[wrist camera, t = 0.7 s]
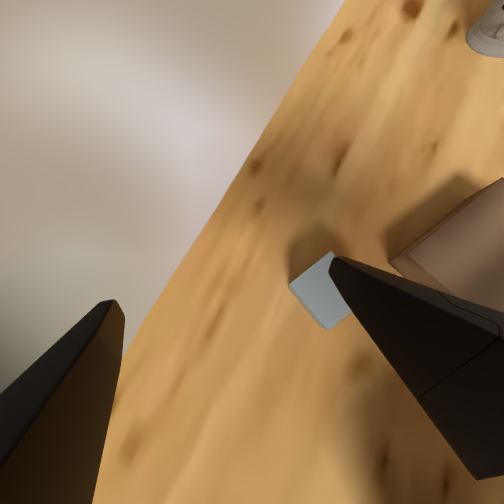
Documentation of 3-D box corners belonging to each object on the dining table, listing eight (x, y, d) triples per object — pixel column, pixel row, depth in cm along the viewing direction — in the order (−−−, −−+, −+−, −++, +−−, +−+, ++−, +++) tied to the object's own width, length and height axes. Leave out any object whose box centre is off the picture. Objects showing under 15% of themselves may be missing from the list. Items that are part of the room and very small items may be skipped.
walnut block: (585, 280, 18) (666, 274, 14) (491, 360, 17) (548, 375, 14) (464, 199, 22) (502, 177, 18) (386, 263, 21) (407, 254, 18)
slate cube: (353, 296, 21) (373, 294, 16) (318, 325, 21) (328, 330, 16) (321, 262, 22) (330, 250, 18) (288, 288, 22) (289, 283, 17)
